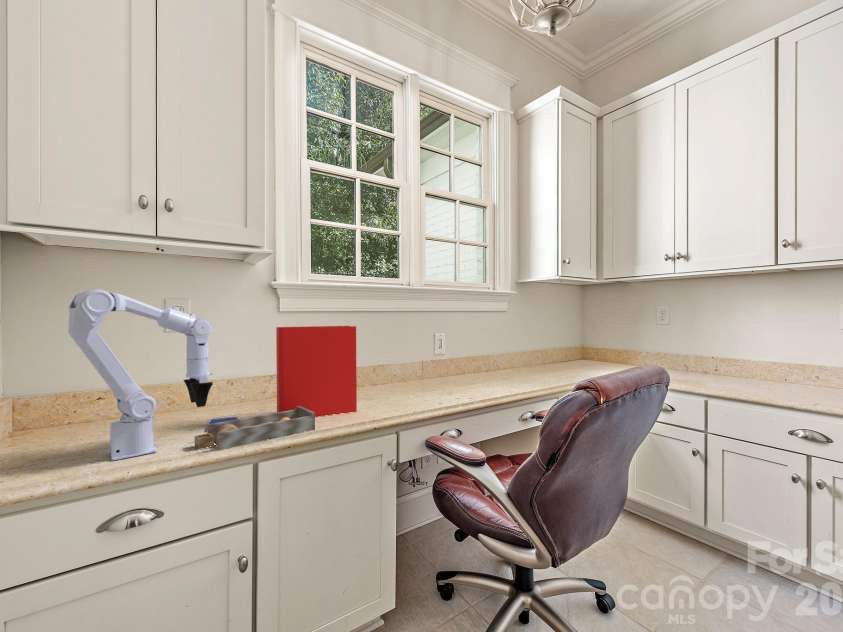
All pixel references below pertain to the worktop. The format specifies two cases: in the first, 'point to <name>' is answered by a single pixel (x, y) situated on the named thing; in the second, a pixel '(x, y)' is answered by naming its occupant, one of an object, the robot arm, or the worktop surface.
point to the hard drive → (222, 420)
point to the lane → (261, 427)
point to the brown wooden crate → (204, 440)
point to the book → (316, 369)
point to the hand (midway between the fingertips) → (198, 404)
